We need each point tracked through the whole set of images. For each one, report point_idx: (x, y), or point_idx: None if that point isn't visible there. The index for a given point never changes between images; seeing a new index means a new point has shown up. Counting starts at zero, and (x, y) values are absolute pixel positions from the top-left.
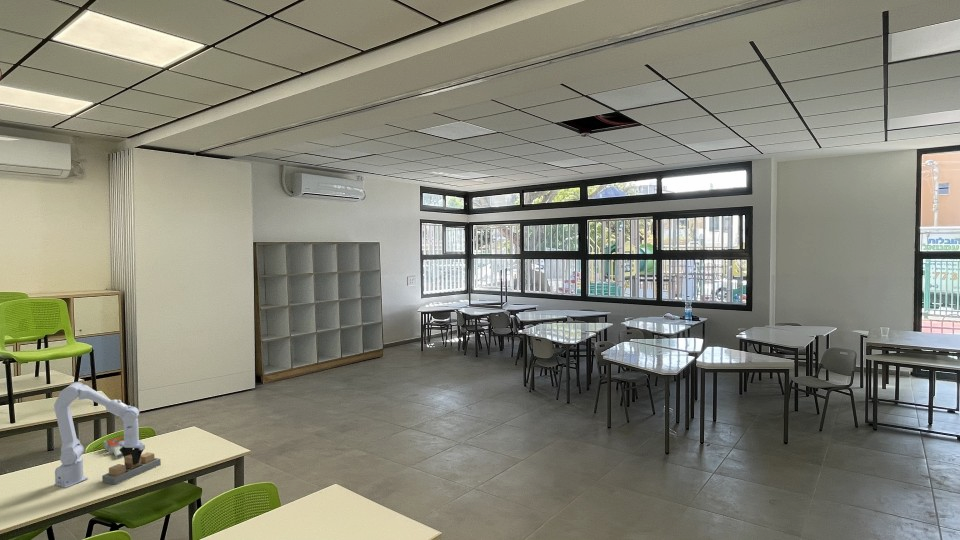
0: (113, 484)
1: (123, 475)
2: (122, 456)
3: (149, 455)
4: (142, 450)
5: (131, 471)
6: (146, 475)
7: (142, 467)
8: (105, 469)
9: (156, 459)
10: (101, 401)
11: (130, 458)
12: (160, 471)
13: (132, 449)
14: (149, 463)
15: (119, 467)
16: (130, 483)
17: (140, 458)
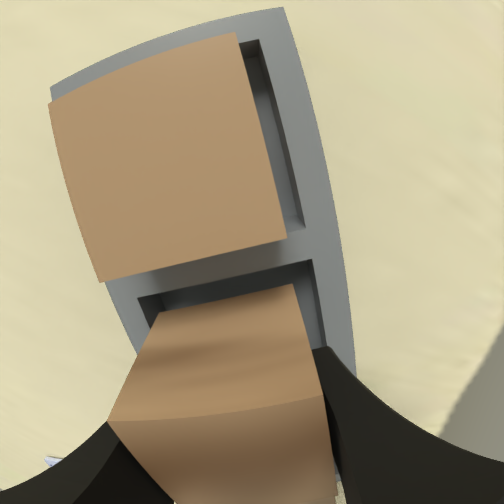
0: None
1: None
2: None
3: (258, 138)
4: (483, 471)
5: None
6: (418, 259)
7: (344, 278)
8: (17, 369)
9: (247, 43)
10: None
11: (320, 493)
12: (446, 138)
13: (83, 495)
14: (328, 178)
15: (326, 502)
16: (426, 382)
17: (308, 341)
